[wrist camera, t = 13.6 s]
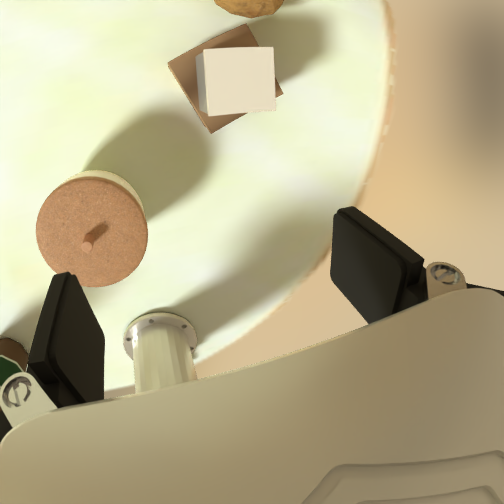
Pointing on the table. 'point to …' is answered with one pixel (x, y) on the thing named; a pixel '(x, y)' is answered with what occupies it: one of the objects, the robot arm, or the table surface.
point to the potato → (250, 7)
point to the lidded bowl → (93, 228)
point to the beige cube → (236, 80)
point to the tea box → (187, 73)
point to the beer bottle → (11, 359)
